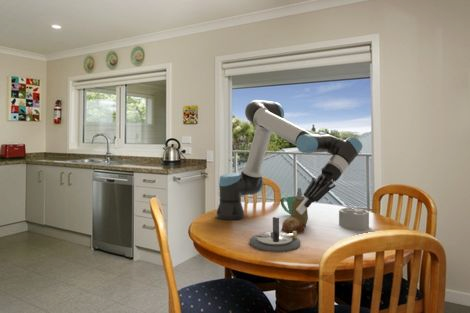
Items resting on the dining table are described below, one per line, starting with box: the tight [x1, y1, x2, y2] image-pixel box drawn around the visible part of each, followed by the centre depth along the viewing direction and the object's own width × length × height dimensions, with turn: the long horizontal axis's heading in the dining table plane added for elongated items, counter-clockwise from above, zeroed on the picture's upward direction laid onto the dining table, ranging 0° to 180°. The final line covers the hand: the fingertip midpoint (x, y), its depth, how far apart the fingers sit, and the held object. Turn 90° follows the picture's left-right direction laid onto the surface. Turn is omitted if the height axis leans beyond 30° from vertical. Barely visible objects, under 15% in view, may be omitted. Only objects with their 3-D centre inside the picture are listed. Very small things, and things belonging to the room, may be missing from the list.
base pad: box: [249, 231, 301, 253], centre depth 122 cm, size 20×20×4 cm
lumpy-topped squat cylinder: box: [338, 206, 370, 231], centre depth 145 cm, size 10×13×9 cm
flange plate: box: [256, 216, 293, 246], centre depth 122 cm, size 14×16×10 cm
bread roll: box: [281, 216, 306, 234], centre depth 138 cm, size 10×10×8 cm
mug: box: [280, 196, 305, 216], centre depth 167 cm, size 15×10×10 cm
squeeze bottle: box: [290, 187, 309, 226], centre depth 147 cm, size 8×8×18 cm
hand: (298, 212), depth 120 cm, fingers closed
